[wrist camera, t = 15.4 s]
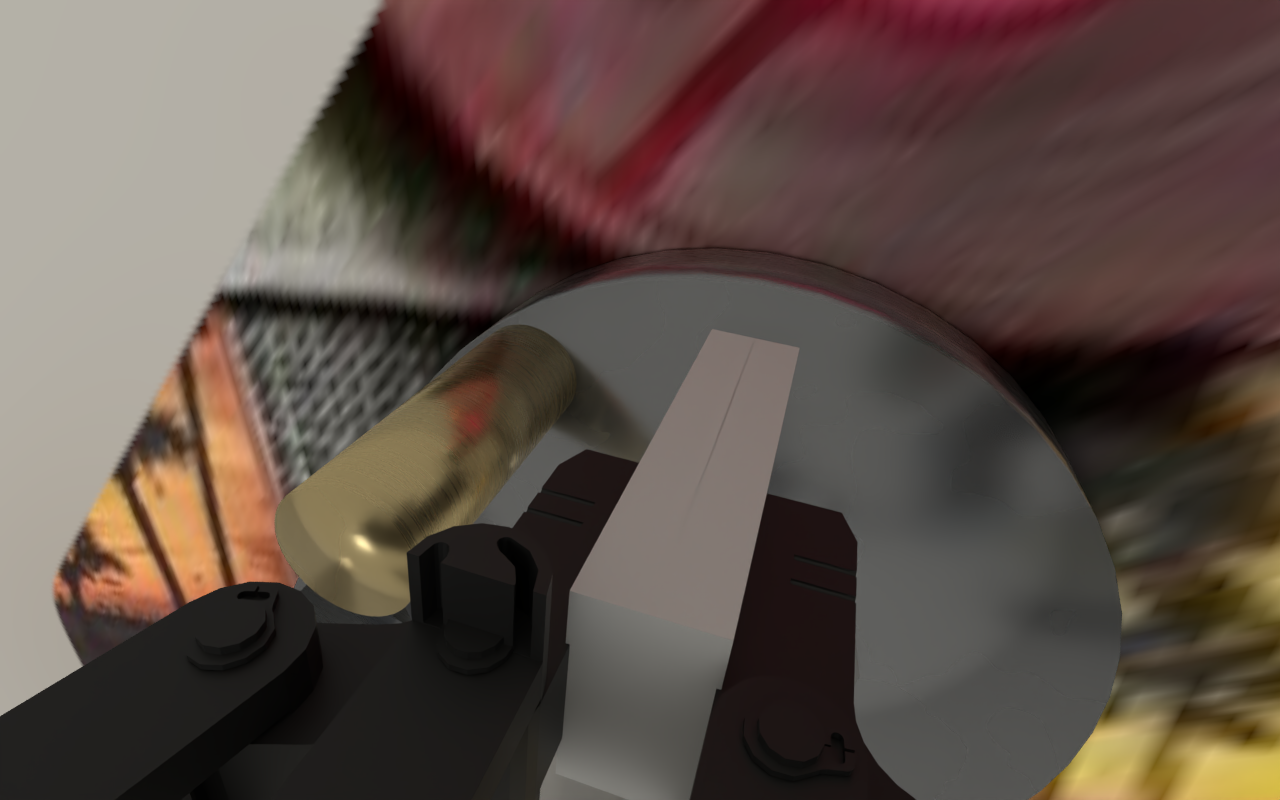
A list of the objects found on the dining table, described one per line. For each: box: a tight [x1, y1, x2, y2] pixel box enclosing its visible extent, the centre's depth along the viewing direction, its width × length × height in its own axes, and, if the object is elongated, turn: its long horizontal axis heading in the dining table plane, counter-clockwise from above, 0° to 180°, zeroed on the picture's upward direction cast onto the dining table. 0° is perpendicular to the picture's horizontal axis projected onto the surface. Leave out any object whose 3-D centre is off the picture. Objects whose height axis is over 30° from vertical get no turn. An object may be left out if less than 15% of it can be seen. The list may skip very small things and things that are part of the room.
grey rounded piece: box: [275, 248, 1122, 800], centre depth 15 cm, size 17×17×8 cm
